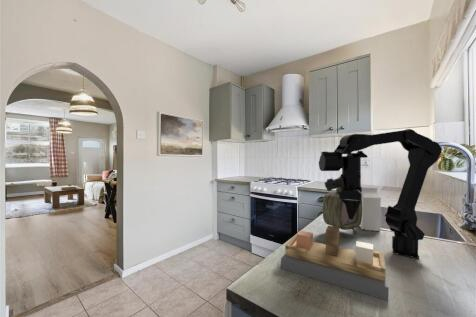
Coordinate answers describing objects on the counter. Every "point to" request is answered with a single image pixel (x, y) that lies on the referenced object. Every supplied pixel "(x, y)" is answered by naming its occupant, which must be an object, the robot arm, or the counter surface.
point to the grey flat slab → (337, 276)
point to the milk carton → (370, 209)
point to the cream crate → (364, 252)
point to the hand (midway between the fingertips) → (351, 215)
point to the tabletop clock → (339, 212)
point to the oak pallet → (337, 256)
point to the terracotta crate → (304, 240)
